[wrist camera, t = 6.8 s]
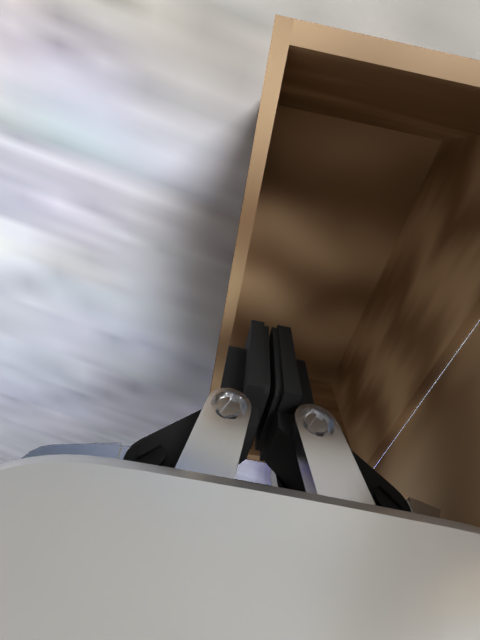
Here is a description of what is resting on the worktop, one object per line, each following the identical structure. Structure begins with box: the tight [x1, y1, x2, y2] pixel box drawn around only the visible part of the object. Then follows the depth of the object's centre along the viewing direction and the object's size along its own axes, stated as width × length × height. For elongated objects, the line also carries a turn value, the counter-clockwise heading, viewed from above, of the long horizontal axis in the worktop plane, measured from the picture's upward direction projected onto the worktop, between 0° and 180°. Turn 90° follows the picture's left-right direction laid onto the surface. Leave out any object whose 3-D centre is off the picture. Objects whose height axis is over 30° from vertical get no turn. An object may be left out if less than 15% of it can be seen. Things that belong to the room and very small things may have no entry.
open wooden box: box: [209, 15, 480, 468], centre depth 18 cm, size 22×12×10 cm, turn 170°
